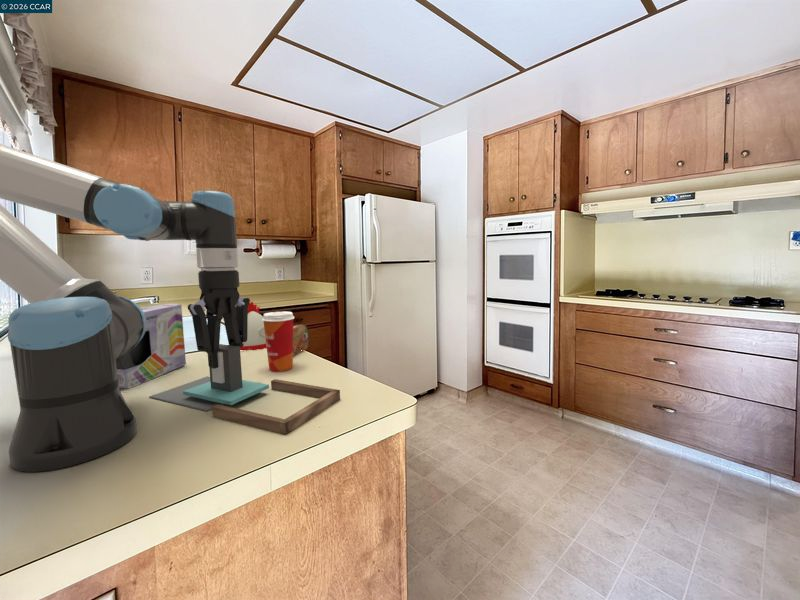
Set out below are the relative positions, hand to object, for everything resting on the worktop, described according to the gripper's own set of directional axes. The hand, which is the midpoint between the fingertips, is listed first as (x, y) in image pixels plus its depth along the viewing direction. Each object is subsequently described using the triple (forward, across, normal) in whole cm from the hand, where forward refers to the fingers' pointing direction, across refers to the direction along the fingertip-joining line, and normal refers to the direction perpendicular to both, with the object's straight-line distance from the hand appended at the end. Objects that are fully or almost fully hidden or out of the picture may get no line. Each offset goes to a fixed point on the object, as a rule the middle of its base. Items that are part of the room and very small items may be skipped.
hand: (226, 379), depth 77 cm
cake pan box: (+4, +2, +29) cm, 30 cm away
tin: (+4, +34, +11) cm, 36 cm away
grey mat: (+4, 0, +6) cm, 8 cm away
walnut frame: (+4, 0, -14) cm, 14 cm away
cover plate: (+3, 0, 0) cm, 3 cm away
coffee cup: (+4, +20, +4) cm, 21 cm away
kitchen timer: (+4, +36, +31) cm, 47 cm away
